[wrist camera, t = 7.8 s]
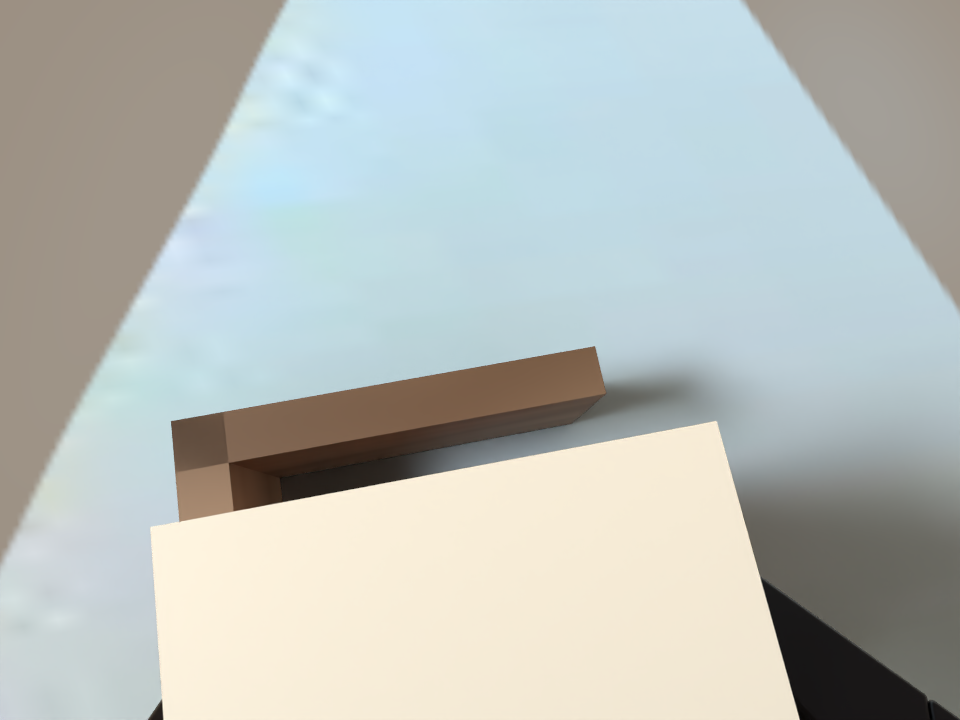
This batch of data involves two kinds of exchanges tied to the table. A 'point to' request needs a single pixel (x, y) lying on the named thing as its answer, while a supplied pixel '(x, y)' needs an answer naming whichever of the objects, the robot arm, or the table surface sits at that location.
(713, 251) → the table surface
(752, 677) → the pink tall block
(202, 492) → the walnut corner walls
